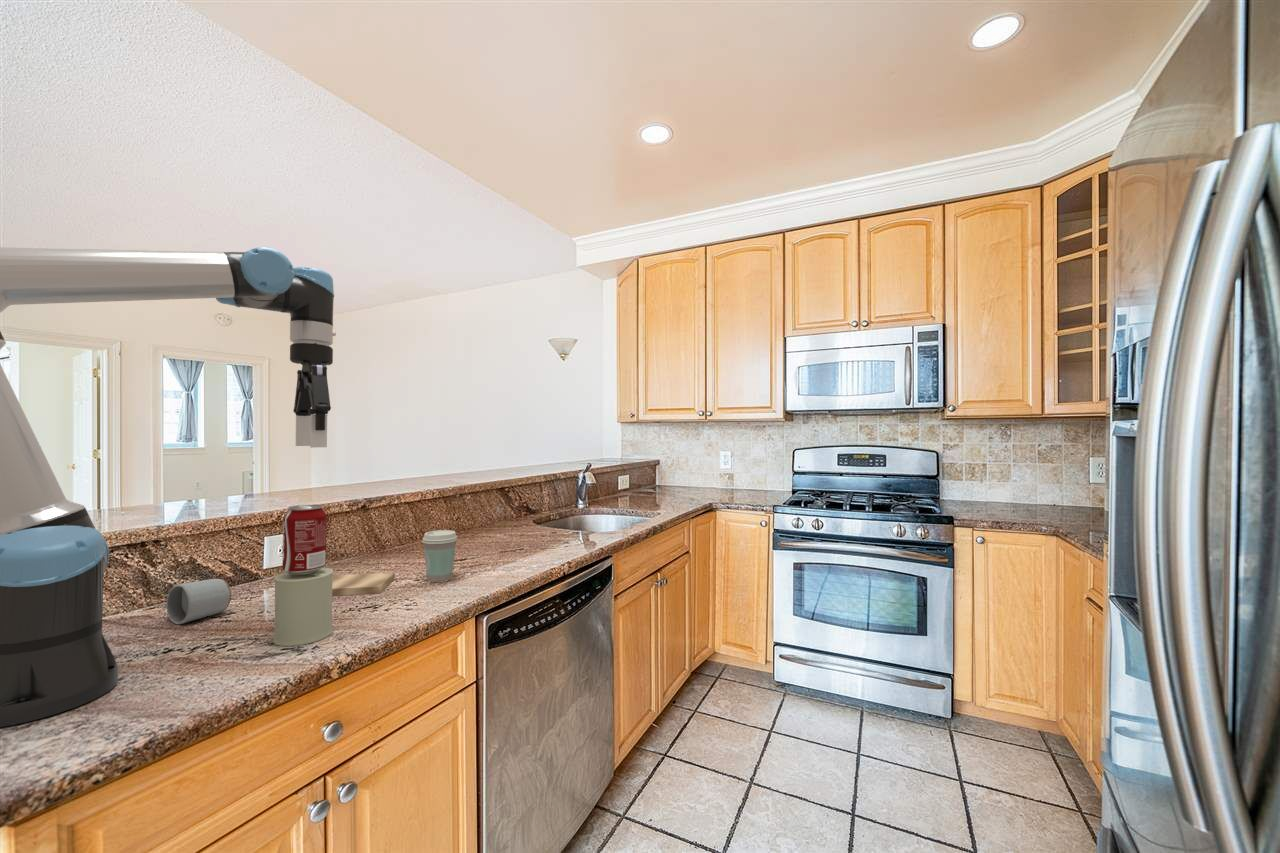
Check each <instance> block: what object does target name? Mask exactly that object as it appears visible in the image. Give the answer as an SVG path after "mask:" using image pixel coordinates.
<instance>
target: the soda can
mask: <svg viewBox="0 0 1280 853" xmlns="http://www.w3.org/2000/svg"><path fill="white" fill-rule="evenodd" d="M323 507H324V505H323V504H300V505H292V506H288V507H287V512H286V513H285V514H284V516H283V518H282V567H281V568H282V571H283V572H282V573H284V572H286V573H288V574H290V575H304V574H311V573H315V572H318V571H320V570H321V569H322V568H326V566H327V533H328V532H327V526H328V524H327V523H328V518H327V517H328V515H327V513H326V511H324V509H323Z"/></svg>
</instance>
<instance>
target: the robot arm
mask: <svg viewBox="0 0 1280 853" xmlns="http://www.w3.org/2000/svg"><path fill="white" fill-rule="evenodd" d="M190 299H192V300H193V299H194V300H195V299H215V300H216V301H217V302H218V303H220V304H224V305H229V306H234V307H236V308H248V309H253V310H254V309H255V310H262V311H263V310H264V311H270V312H271V311H273V312H279V313H285V314H286V313H287V314H290V321H289V340H290V342H291V345H289V361H290V362H291V363H293V364H299V365H301V366H302V367H301V369H297V371H296V373H297V375H296V376H297V379H296V380H297V381H296V388H295V398H294V405H293V409H292V410H293V413H294V414H295V447H301V446H302V447H309V448H311V449H312V448H313V449H315V448H327V447H328V414H329V411H331V409H332V407H331V400H330V393H329V391H330V390H329V383H328V374H327V373H328V372H327V370H328V367H327V366H330V365H332V364H334V363H333V361H334V360H333V359H334V358H333V357H334V349H333V347H332V345H333V344H334V342H333V340H334V337H336V334H337V333H336V331H333V330H334V328H333V327H334V300H335V292H334V279H333V277H332V274H330V273H329V272H327V271H325V270H323V269H320V268H316V267H306V266H298V267H297V266H296V267H294V265H293V264H292V262H291V260H290V259H289V257H287V255H286V254H284V253H283V252H281V251H280V250H277V249H275V248H272V247H269V246H258V247H255V248H254V247H253V248H251V249H249V250H247V251H198V250H197V251H192V250H187V251H186V250H147V249H146V250H144V249H143V250H141V249H140V250H139V249H94V248H93V249H92V248H91V249H90V248H89V249H87V248H46V247H45V248H43V247H41V248H40V247H39V248H35V247H33V248H32V247H30V248H29V247H0V314H1V313H2V312H3V311H5V310H6V309H7V308H9V307H10V306H15V305H16V306H17V305H19V306H21V305H41V304H44V305H45V304H49V305H50V304H73V303H75V304H76V303H78V304H79V303H102V302H103V303H105V302H109V303H110V302H130V301H131V302H134V301H135V302H137V301H161V300H162V301H163V300H165V301H166V300H167V301H168V300H190ZM6 344H7V342H6V340H5V338H4V336H3V333H2V331H0V351H1V350H2V349H3V347H4V346H5V345H6ZM1 364H2V363H0V728H3V727H8V726H15V725H18V724H25V723H28V722H31V721H33V722H34V721H36V720H40V719H43V718H47V717H50V716H53V715H57V714H60V713H63V712H66V711H69V710H71V709H74V708H77V707H79V706H82V705H84V704H87V703H89V702H91V701H94V700H96V699H97V698H100V697H101V696H103V695H105V694H106V693H108V692H109V691H111V690H112V689H113V688H115V687H116V685H117V684H118V682H119V665H118V663H117V661H116V659H115V657H114V656H115V655H114V654H113V652H112V651H111V648H110V646H109V644H108V642H107V640H106V637H105V636H104V634H103V615H104V614H103V607H104V606H103V605H104V602H103V601H104V600H103V599H104V577H105V576H104V575H105V570H106V569H107V566H108V564H109V560H110V549H109V545H108V543H107V541H106V539H105V538H104V536H103V534H102V532H100V530H98V529H96V526H95V524H94V523H93V521H92V518H91V517H90V514H89V513H88V510H87V508H86V506H85V505H83V504H80V503H77V502H74V501H70V500H68V499H67V498H66V496H65V494H64V492H63V489H62V487H61V486H60V483H59V482H58V480H57V477H56V475H55V474H54V472H53V470H52V466H51V465H50V463H49V461H48V459H47V457H46V455H45V453H44V451H43V448H42V447H41V445H40V443H39V441H38V438H37V436H36V435H35V432H34V430H33V428H32V426H31V424H30V422H29V420H28V418H27V416H26V414H25V412H24V410H23V407H22V405H21V403H20V402H19V400H18V397H17V396H16V393H15V391H14V390H13V387H12V385H11V383H10V381H9V379H8V377H7V375H6V372H5V371H4V368H3V366H2V365H1Z"/></svg>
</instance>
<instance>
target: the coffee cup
mask: <svg viewBox="0 0 1280 853" xmlns="http://www.w3.org/2000/svg"><path fill="white" fill-rule="evenodd" d="M458 540H459V538H458V535H457V534H456V531H455V530H450V529H438V530H432V531H427V532H425V533H424V534H423V537H422V541H421V543H423V551H424V552H423V553H424V561H425V570H426V578H427V582H429V581H430V582H429V583H433V582H438V583H442V582H441V581H445V582H447V581H446V580H449V579H451V578H453V571H454V562H455V554H456V546H457V541H458ZM451 580H452V579H451ZM449 581H450V580H449Z"/></svg>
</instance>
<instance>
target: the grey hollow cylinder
mask: <svg viewBox="0 0 1280 853" xmlns="http://www.w3.org/2000/svg"><path fill="white" fill-rule="evenodd" d="M231 601H232V589H231V586H230V585H229V583H228V582H227V581H226V580H224V579H222V578H210V579H203V580H197V581H192V582H184V583H179V584H175V585H174V586H173V587H171V589H170V590H169V592H168V594H167V597H166V602H165V603H166V612H167V616H168V618H169V619H170V621H171V622H172V623H173V624H176V625H183V624H187V623H190V622H195V621H196V620H197V621H198V620H201V619H203V618H207V616H208V617H211V616H214V615H218V614H220V613H222V612H224V611H225V610H226V609H227V608H228V607H229V605H230V603H231Z"/></svg>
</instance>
